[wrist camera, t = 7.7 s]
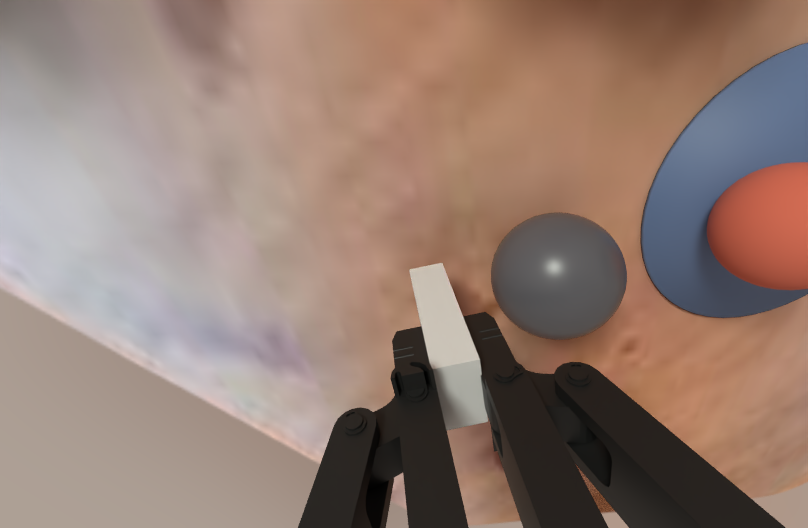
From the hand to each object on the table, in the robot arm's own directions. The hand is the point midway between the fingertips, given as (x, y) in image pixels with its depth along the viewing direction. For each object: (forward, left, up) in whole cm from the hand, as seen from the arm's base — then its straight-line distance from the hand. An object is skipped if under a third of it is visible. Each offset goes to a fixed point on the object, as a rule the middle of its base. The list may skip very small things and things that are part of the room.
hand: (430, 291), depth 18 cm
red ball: (-14, -8, +1) cm, 16 cm away
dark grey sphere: (-5, -3, +1) cm, 6 cm away
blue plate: (-16, -9, -2) cm, 18 cm away
